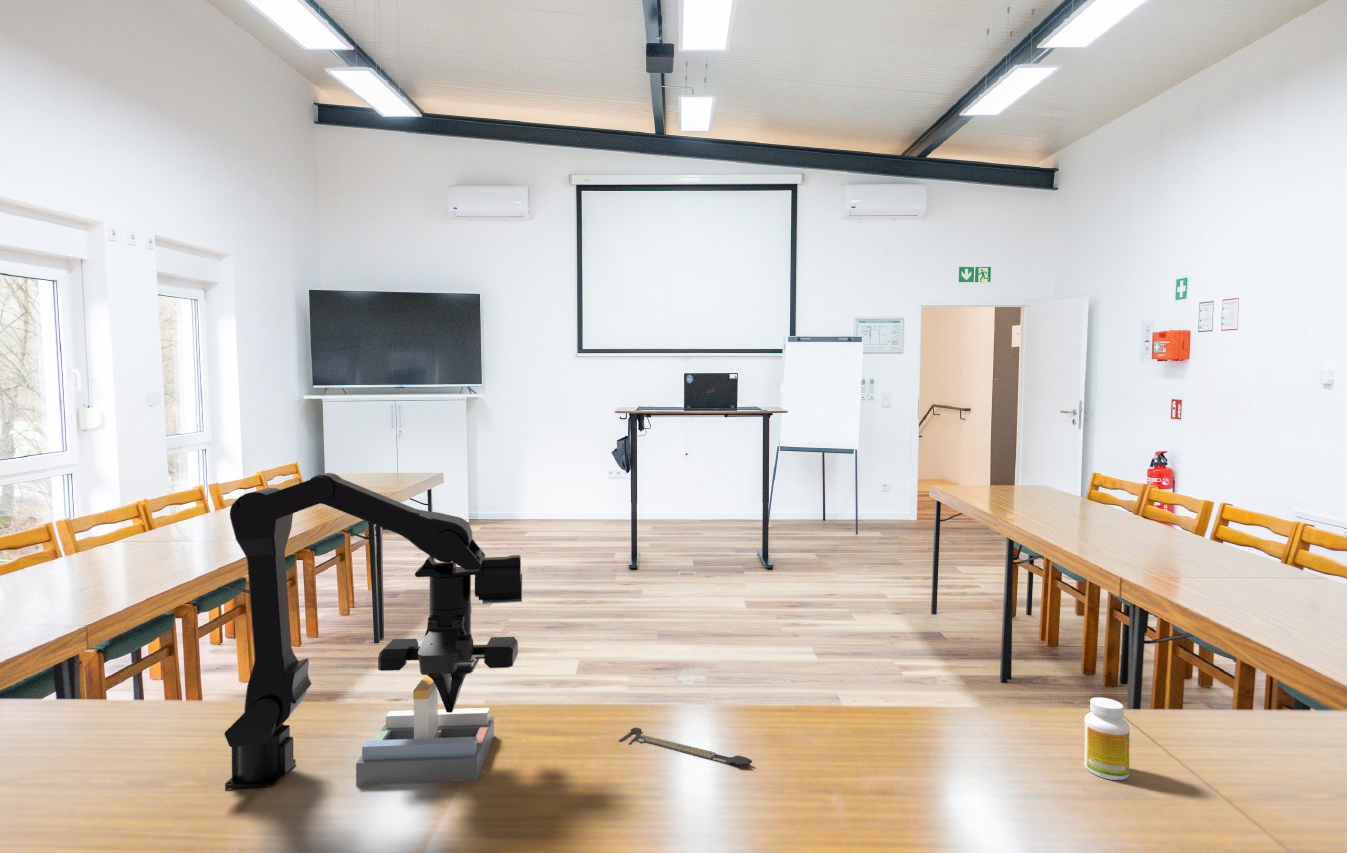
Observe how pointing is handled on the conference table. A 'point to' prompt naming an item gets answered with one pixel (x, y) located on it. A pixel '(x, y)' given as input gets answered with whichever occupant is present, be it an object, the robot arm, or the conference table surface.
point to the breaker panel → (426, 764)
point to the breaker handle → (426, 710)
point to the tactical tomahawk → (686, 749)
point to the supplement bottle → (1106, 740)
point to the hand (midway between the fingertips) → (450, 711)
